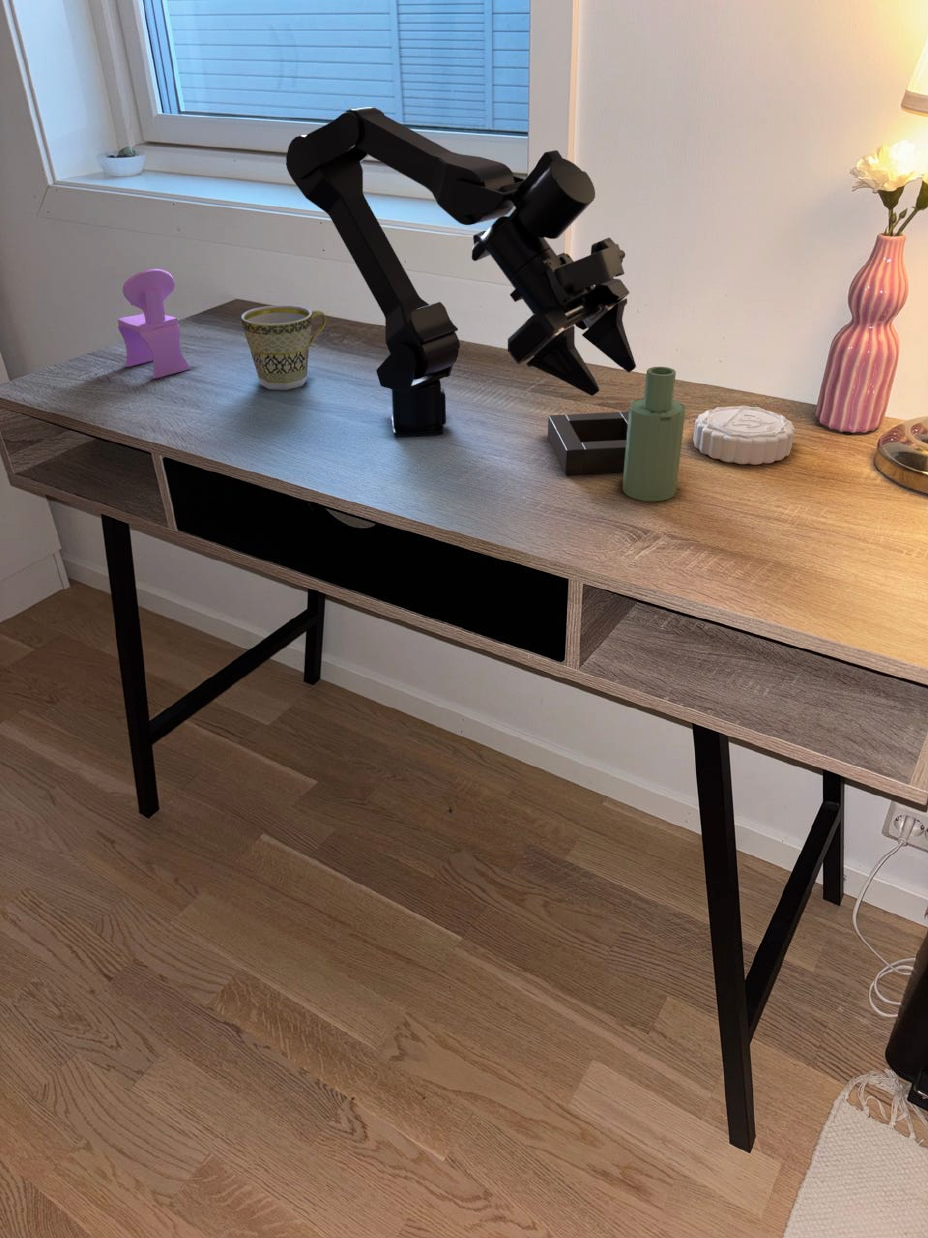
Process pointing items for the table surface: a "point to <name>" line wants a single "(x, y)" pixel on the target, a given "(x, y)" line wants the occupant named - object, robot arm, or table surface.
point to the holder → (589, 441)
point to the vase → (654, 439)
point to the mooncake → (743, 435)
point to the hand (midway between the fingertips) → (615, 381)
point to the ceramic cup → (280, 343)
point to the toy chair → (152, 324)
